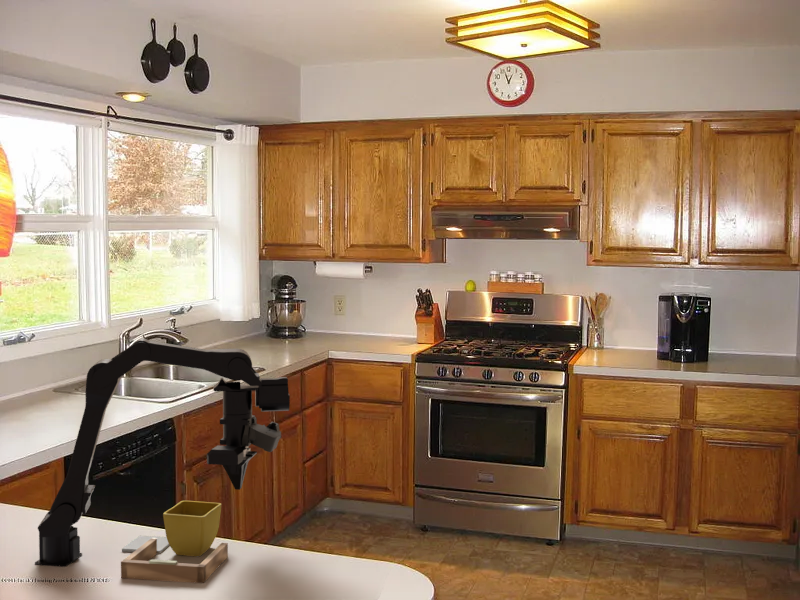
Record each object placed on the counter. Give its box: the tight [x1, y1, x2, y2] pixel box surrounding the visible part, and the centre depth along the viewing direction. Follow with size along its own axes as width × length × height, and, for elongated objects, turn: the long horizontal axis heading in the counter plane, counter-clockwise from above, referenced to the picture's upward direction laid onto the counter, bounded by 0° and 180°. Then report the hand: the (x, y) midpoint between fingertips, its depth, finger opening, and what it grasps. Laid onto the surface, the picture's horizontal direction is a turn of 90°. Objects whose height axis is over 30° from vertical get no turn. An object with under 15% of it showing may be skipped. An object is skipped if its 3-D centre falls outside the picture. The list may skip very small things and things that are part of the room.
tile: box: [121, 535, 170, 555], centre depth 172 cm, size 8×8×1 cm
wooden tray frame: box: [120, 539, 229, 584], centre depth 160 cm, size 13×16×3 cm
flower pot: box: [162, 500, 222, 557], centre depth 168 cm, size 9×9×9 cm
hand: (238, 489), depth 170 cm, fingers closed
